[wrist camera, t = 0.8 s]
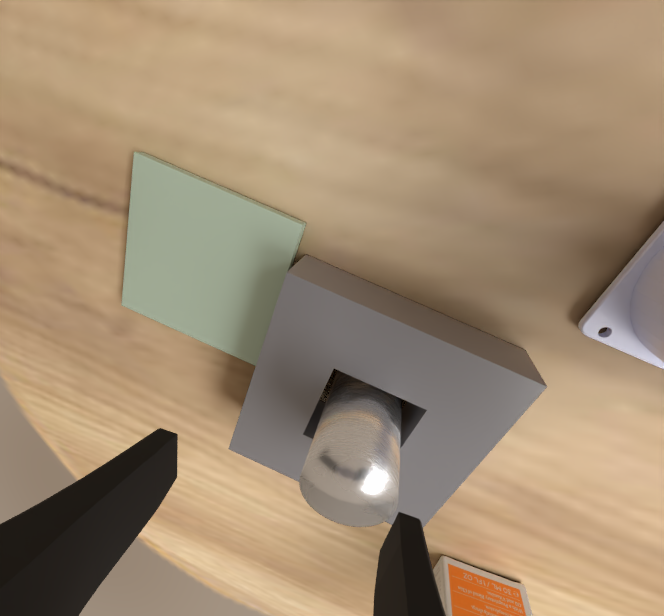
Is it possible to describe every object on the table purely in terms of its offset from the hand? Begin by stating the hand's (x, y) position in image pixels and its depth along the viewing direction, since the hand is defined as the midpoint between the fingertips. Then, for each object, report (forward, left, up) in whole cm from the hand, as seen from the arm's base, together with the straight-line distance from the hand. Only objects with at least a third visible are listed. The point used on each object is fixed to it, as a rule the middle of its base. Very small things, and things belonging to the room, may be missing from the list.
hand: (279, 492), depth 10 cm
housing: (-3, +2, -10) cm, 10 cm away
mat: (+8, -1, -10) cm, 13 cm away
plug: (-3, +2, -10) cm, 10 cm away
